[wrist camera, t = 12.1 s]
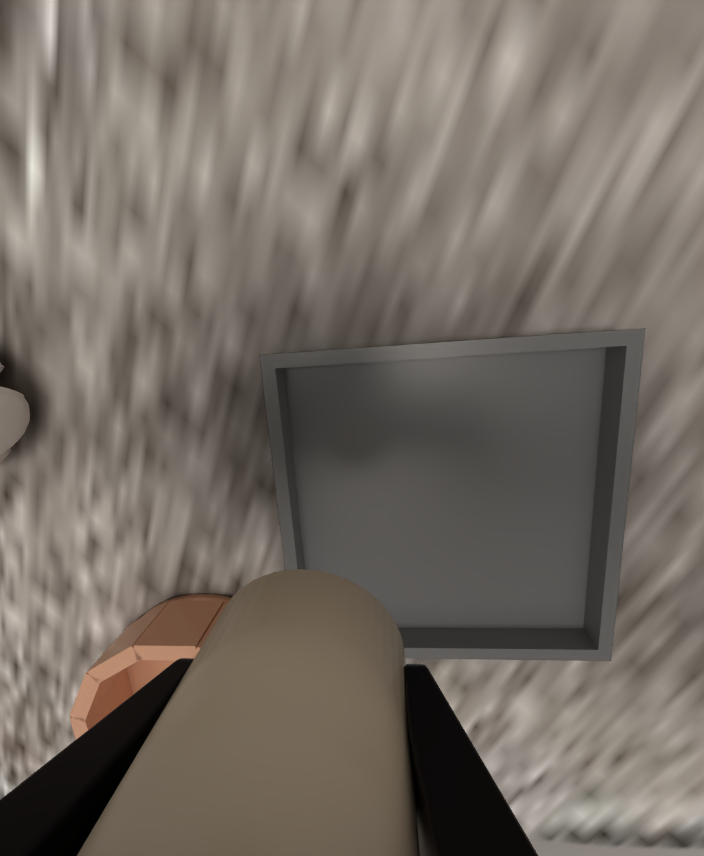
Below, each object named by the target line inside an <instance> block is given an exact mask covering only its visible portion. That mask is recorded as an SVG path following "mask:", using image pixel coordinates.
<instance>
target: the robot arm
mask: <svg viewBox="0 0 704 856" xmlns="http://www.w3.org/2000/svg"><path fill="white" fill-rule="evenodd" d="M193 660H194V658H181V659H178V660H176V661H175V662H173V663H172V664H171V665H170V666H168V667H167V668H166V669H165V670H163V671H162V672H161V673H160V674H158V675H157V676H156V677H155V678H153V679H152V680H151V681H149V682H148V683H147V684H146V685H144V686H143V687H142V688H141V689H139V690H138V691H137V692H136V693H134V694H133V695H132V696H131V697H129V698H128V699H127V700H126V701H124V702H123V703H122V704H120V705H119V706H118V707H117V708H115V709H114V710H113V711H112V712H110V713H109V714H108V715H107V716H105V717H104V718H103V719H102V720H100V721H99V722H98V723H97V724H95V725H94V726H93V727H91V728H90V729H89V730H88V731H86V732H85V733H84V734H83V735H81V736H80V737H79V738H78V739H76V740H75V741H74V742H73V743H71V744H70V745H69V746H68V747H66V748H65V749H64V750H62V751H61V752H60V753H59V754H57V755H56V756H55V757H54V758H52V759H51V760H50V761H49V762H47V763H46V764H45V765H44V766H42V767H41V768H40V769H39V770H37V771H36V772H35V773H33V774H32V775H31V776H30V777H28V778H27V779H26V780H25V781H23V782H22V783H21V784H20V785H18V786H17V787H16V788H15V789H13V790H12V791H11V792H10V793H8V794H7V795H6V796H4V797H3V798H2V799H1V800H0V856H77V855H78V853H79V851H80V850H81V848H82V846H83V845H84V843H85V841H86V839H87V838H88V836H89V834H90V833H91V831H92V829H93V828H94V826H95V824H96V823H97V821H98V819H99V818H100V816H101V814H102V813H103V811H104V809H105V808H106V806H107V804H108V803H109V801H110V799H111V798H112V796H113V794H114V792H115V791H116V789H117V787H118V786H119V784H120V782H121V781H122V779H123V777H124V776H125V774H126V772H127V771H128V769H129V767H130V766H131V764H132V762H133V761H134V759H135V757H136V756H137V754H138V752H139V751H140V749H141V747H142V746H143V744H144V742H145V740H146V739H147V737H148V735H149V734H150V732H151V730H152V729H153V727H154V725H155V724H156V722H157V720H158V719H159V717H160V715H161V714H162V712H163V710H164V709H165V707H166V705H167V704H168V702H169V700H170V699H171V697H172V695H173V693H174V692H175V690H176V688H177V687H178V685H179V683H180V682H181V680H182V678H183V677H184V675H185V673H186V672H187V670H188V668H189V667H190V665H191V663H192V662H193ZM404 675H405V689H406V704H407V718H408V732H409V743H410V752H411V760H412V768H413V775H414V786H415V797H416V810H417V823H418V837H419V850H420V856H538V855H537V853H536V851H535V850H534V848H533V846H532V844H531V843H530V841H529V839H528V838H527V836H526V834H525V832H524V831H523V829H522V827H521V826H520V824H519V822H518V821H517V819H516V817H515V815H514V814H513V812H512V810H511V809H510V807H509V805H508V804H507V802H506V800H505V799H504V797H503V795H502V793H501V792H500V790H499V788H498V787H497V785H496V783H495V782H494V780H493V778H492V776H491V775H490V773H489V771H488V770H487V768H486V766H485V765H484V763H483V761H482V759H481V758H480V756H479V754H478V753H477V751H476V749H475V748H474V746H473V744H472V742H471V741H470V739H469V737H468V736H467V734H466V732H465V731H464V729H463V727H462V726H461V724H460V722H459V720H458V719H457V717H456V715H455V714H454V712H453V710H452V709H451V707H450V705H449V703H448V702H447V700H446V698H445V697H444V695H443V693H442V692H441V690H440V688H439V686H438V685H437V683H436V681H435V680H434V678H433V676H432V675H431V673H430V671H429V670H428V668H427V667H426V666H425V665H421V664H406V665H405V667H404Z"/></svg>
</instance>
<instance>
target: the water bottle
mask: <svg viewBox="0 0 704 856" xmlns="http://www.w3.org/2000/svg"><path fill="white" fill-rule="evenodd" d="M3 369H4V366H3V365H2V364H1V362H0V372H1V371H2V370H3ZM29 422H30V409H29V404H28V402H27V401H26V399H25V398H24V395H23V394H21V393H19V392H17V391H15V390H12V389H9V388H5V387H1V386H0V463H1V462H2V460H3V459H5V458H6V457H7V456H8V454H9V453H10V451H11V450H10V447H12V446H13V445H14V444H15V443H16V442H17V441H18V440H19V439H20V438H21V437H22V435H23V434H24V433H25V431H26V428H27V426H28V424H29Z"/></svg>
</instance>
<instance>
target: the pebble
mask: <svg viewBox="0 0 704 856" xmlns="http://www.w3.org/2000/svg"><path fill="white" fill-rule="evenodd" d="M405 665H406V664H405V652H404V645H403V641H402V637H401V634H400V631H399V629H398V627H397V624H396V623H395V621H394V619H393V618H392V616H391V614H390V613H389V612H388V611H387V609H386V608H385V607H384V606H383V605H382V604H381V603H380V602H379V601H378V600H377V599H376V598H375V597H374V596H373V595H372V594H370V593H369V592H368V591H366V590H365V589H364V588H362V587H360V586H359V585H357V584H355V583H353V582H352V581H349V580H347V579H345V578H342V577H340V576H337V575H334V574H330V573H327V572H322V571H316V570H304V569H296V570H285V571H279V572H274V573H271V574H268V575H265V576H262V577H260V578H258V579H256V580H254V581H252V582H250V583H249V584H247V585H246V586H244V587H243V588H242V589H240V590H239V591H238V592H237V593H236V594H235V595H234V596H233V597H232V598H231V599H230V601H229V602H228V603H227V605H226V606H225V608H224V610H223V611H222V613H221V615H220V616H219V618H218V620H217V621H216V623H215V625H214V626H213V628H212V630H211V631H210V633H209V635H208V636H207V638H206V640H205V641H204V643H203V645H202V646H201V648H200V650H199V652H198V653H197V655H196V657H195V658H194V660H193V662H192V663H191V665H190V667H189V668H188V670H187V672H186V673H185V675H184V677H183V678H182V680H181V682H180V683H179V685H178V687H177V688H176V690H175V692H174V693H173V695H172V697H171V699H170V700H169V702H168V704H167V705H166V707H165V709H164V710H163V712H162V714H161V715H160V717H159V719H158V720H157V722H156V724H155V725H154V727H153V729H152V730H151V732H150V734H149V735H148V737H147V739H146V740H145V742H144V744H143V746H142V747H141V749H140V751H139V752H138V754H137V756H136V757H135V759H134V761H133V762H132V764H131V766H130V767H129V769H128V771H127V772H126V774H125V776H124V777H123V779H122V781H121V782H120V784H119V786H118V787H117V789H116V791H115V792H114V794H113V796H112V798H111V799H110V801H109V803H108V804H107V806H106V808H105V809H104V811H103V813H102V814H101V816H100V818H99V819H98V821H97V823H96V824H95V826H94V828H93V829H92V831H91V833H90V834H89V836H88V838H87V839H86V841H85V843H84V845H83V846H82V848H81V850H80V851H79V853H78V855H77V856H420V850H419V837H418V823H417V810H416V797H415V786H414V775H413V768H412V760H411V752H410V743H409V732H408V718H407V704H406V689H405V675H404V667H405Z"/></svg>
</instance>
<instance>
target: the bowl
mask: <svg viewBox="0 0 704 856" xmlns="http://www.w3.org/2000/svg"><path fill="white" fill-rule="evenodd" d="M230 599H231V597H227V596H221V595H216V594H189V595H184V596H179V597H175V598H172V599H169V600H166V601H164V602H162V603H160V604H158V605H156V606H154V607H153V608H152V609H150V610H149V611H147V612H146V613H145V614H144V615H143V616H142V617H141V618H140V619H139V620H137V621H135V622H134V623H132V624H130V625H129V626H128V627H127V628H126V629H125V630H124V631H123V632H122V634H121V635H120V636H119V637H118V638H117V639H116V640H115V641H114V642H113V644H112V645H111V646H110V647H109V648H108V649H107V650H106V651H105V652H104V653H103V655H102V656H101V657H100V658H99V659H98V660H97V661H96V662H95V663H94V664H93V666H92V667H91V668H90V669H89V670H88V671H87V672H86V674H85V676H84V679H83V682H82V684H81V687H80V690H79V692H78V695H77V698H76V700H75V703H74V706H73V708H72V711H71V714H70V720H71V724H72V727H73V731H74V734H75V737H76V739H78V738H79V737H80V736H81V735H83V734H84V733H85V732H86V731H88V730H89V729H90V728H91V727H93V726H94V725H95V724H97V723H98V722H99V721H100V720H102V719H103V718H104V717H105V716H107V715H108V714H109V713H110V712H112V711H113V710H114V709H115V708H117V707H118V706H119V705H120V704H122V703H123V702H124V701H126V700H127V699H128V698H129V697H131V696H132V695H133V694H134V693H136V692H137V691H138V690H139V689H141V688H142V687H143V686H144V685H146V684H147V683H148V682H149V681H151V680H152V679H153V678H155V677H156V676H157V675H158V674H160V673H161V672H162V671H163V670H165V669H166V668H167V667H168V666H170V665H171V664H172V663H173V662H175V661H176V660H178V659H181V658H195V657H196V655H197V653H198V652H199V650H200V648H201V646H202V645H203V643H204V641H205V640H206V638H207V636H208V635H209V633H210V631H211V630H212V628H213V626H214V625H215V623H216V621H217V620H218V618H219V616H220V615H221V613H222V611H223V610H224V608H225V606H226V605H227V603H228V602H229V601H230Z"/></svg>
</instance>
